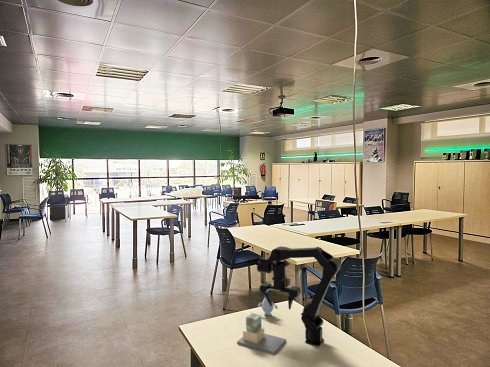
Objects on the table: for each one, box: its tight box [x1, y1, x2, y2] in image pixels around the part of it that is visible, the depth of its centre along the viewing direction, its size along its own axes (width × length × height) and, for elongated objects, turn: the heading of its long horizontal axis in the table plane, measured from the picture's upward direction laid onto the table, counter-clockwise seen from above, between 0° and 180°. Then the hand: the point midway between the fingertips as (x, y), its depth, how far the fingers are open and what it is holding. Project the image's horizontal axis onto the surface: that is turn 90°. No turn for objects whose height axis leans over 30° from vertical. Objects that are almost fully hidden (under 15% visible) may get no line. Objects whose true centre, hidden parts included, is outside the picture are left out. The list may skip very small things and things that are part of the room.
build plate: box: [236, 326, 287, 355], centre depth 148 cm, size 18×12×5 cm, turn 60°
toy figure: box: [257, 294, 278, 317], centre depth 175 cm, size 11×6×12 cm, turn 75°
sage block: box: [245, 312, 262, 333], centre depth 150 cm, size 5×5×6 cm
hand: (280, 307), depth 156 cm, fingers open, 9 cm apart
